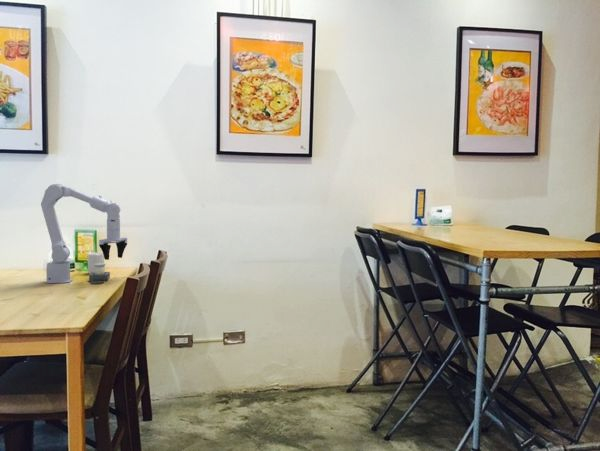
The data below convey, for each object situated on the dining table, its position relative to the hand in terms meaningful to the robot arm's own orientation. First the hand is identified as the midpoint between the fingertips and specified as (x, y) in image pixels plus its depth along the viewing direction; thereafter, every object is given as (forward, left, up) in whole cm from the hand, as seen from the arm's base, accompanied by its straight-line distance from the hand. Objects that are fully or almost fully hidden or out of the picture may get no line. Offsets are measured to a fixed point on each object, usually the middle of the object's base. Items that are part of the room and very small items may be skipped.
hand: (113, 258), depth 235 cm
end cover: (-6, +1, -10) cm, 12 cm away
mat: (-6, -6, -10) cm, 13 cm away
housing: (-6, +1, -10) cm, 12 cm away
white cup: (-10, +18, -10) cm, 23 cm away
